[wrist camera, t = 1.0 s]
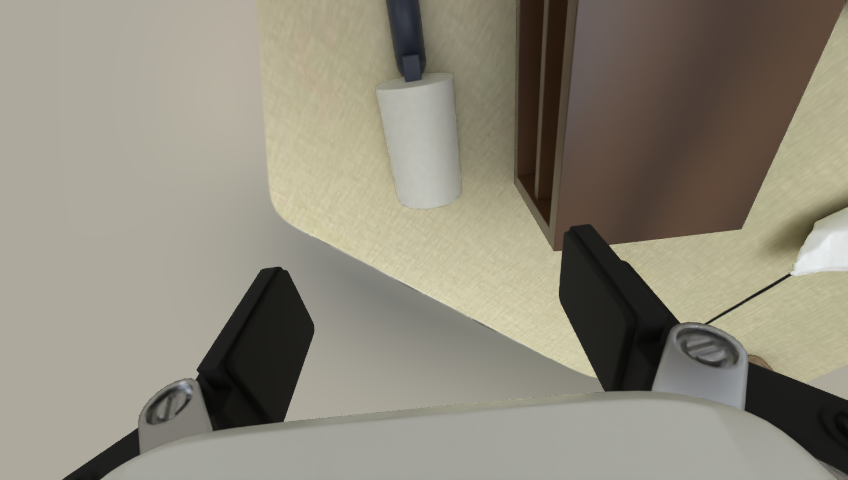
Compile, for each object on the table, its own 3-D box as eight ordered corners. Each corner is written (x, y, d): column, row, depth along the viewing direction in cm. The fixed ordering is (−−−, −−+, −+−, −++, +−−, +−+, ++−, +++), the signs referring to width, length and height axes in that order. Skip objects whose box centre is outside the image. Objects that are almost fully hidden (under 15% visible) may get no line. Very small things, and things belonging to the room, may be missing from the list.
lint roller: (457, 176, 31) (466, 203, 26) (398, 185, 31) (397, 214, 27) (438, -49, 22) (446, -68, 18) (355, -35, 22) (342, -49, 18)
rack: (514, 184, 31) (553, 251, 22) (517, -71, 22) (590, -137, 12) (645, 166, 31) (742, 229, 22) (711, -106, 21) (941, -204, 12)
